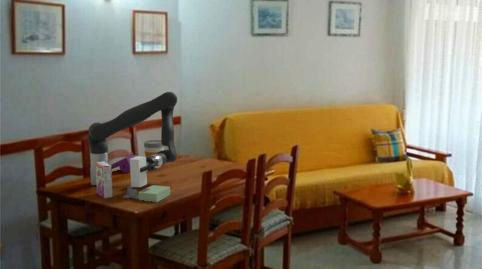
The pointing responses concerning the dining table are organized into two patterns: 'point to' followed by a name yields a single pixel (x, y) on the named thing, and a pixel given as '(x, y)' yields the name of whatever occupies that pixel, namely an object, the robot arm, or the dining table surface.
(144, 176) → the tall white pillar block
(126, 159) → the mounting bracket
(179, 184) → the dining table surface
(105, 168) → the candy bar box
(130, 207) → the dining table surface
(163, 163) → the robot arm
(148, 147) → the reusable coffee cup
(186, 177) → the dining table surface
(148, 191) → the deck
